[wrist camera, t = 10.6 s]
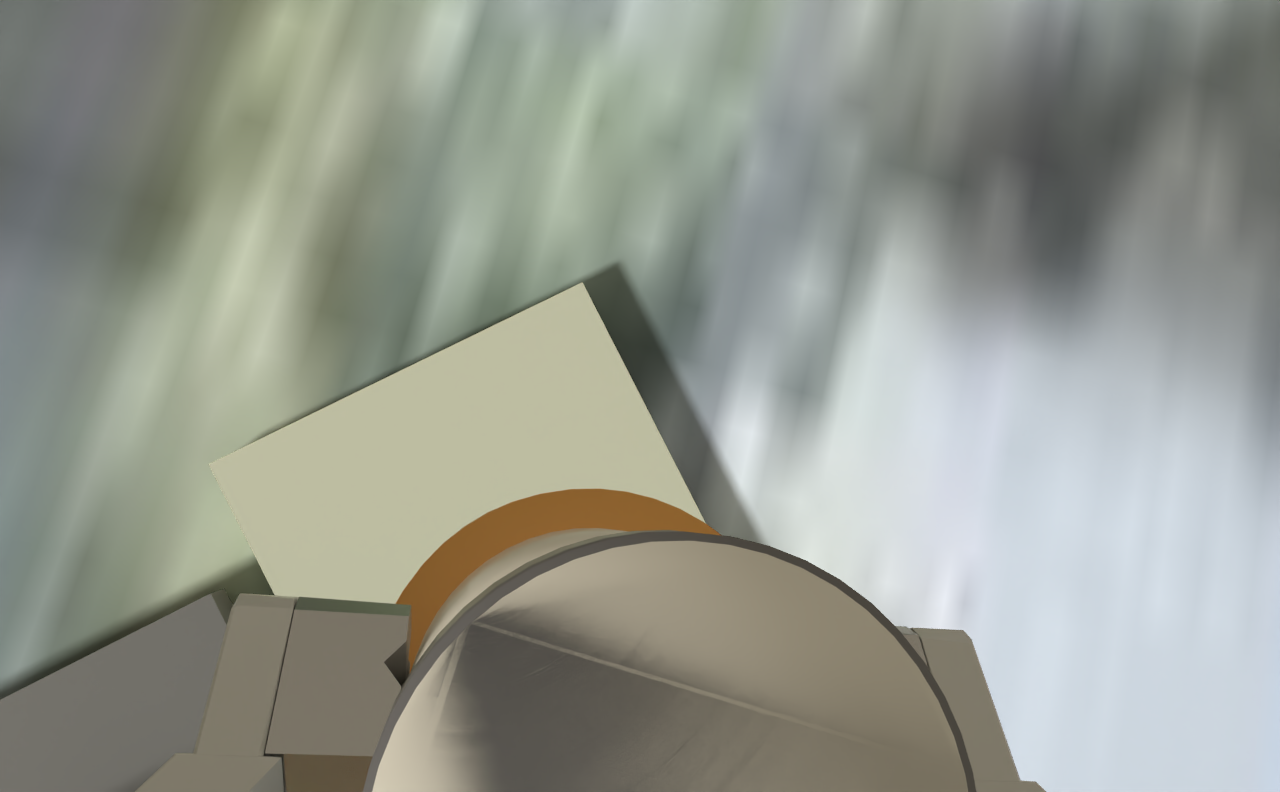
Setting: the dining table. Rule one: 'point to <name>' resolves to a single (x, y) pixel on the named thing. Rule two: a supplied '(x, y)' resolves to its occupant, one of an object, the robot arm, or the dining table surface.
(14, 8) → the dining table surface
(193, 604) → the socket
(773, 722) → the plug
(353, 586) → the mat
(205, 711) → the robot arm
